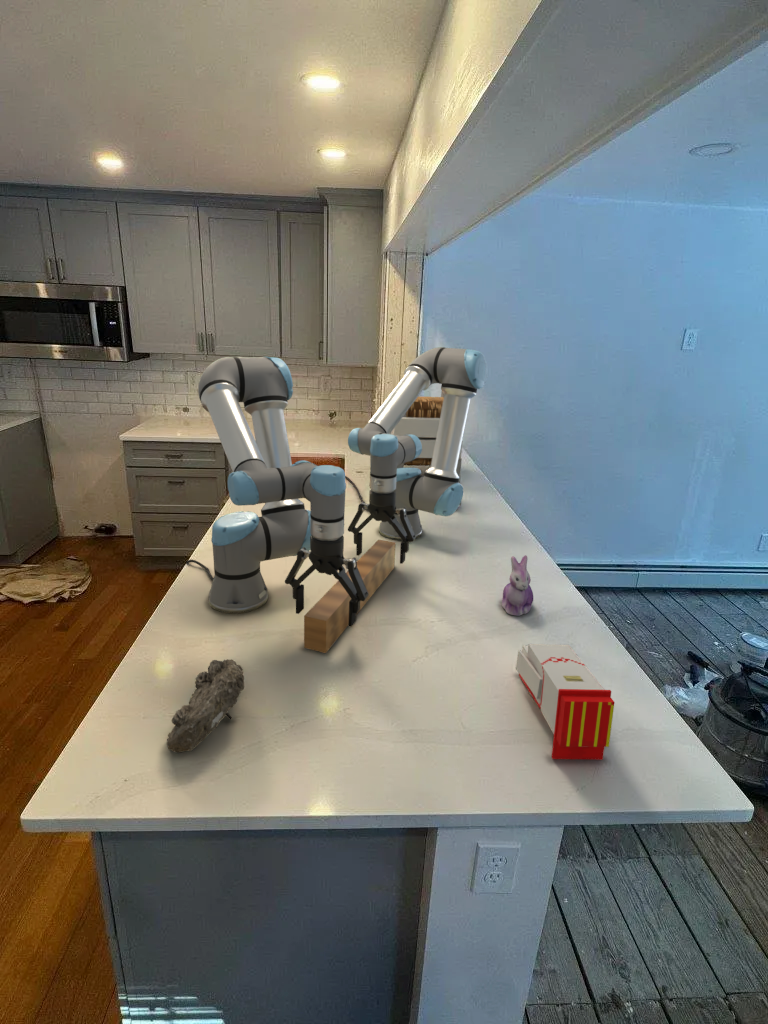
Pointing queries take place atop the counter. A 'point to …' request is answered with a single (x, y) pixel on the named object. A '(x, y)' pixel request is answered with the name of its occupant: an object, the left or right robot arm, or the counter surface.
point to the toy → (568, 700)
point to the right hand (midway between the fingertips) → (380, 557)
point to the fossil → (206, 705)
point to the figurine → (518, 589)
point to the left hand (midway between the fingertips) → (325, 617)
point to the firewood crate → (423, 428)
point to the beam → (346, 598)
